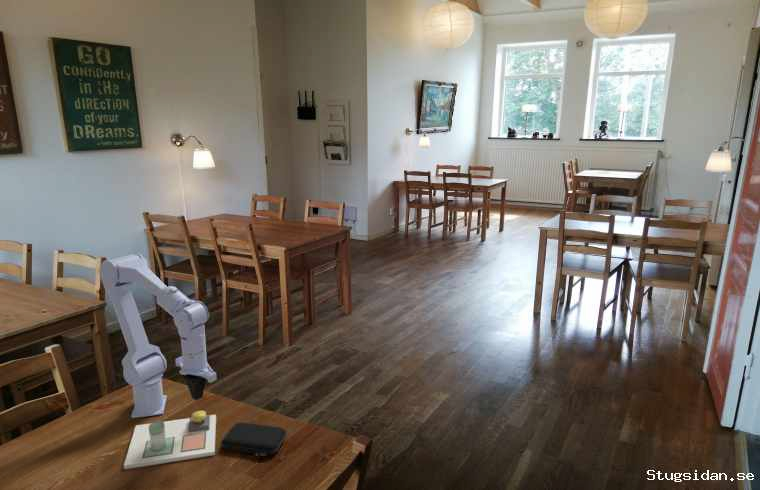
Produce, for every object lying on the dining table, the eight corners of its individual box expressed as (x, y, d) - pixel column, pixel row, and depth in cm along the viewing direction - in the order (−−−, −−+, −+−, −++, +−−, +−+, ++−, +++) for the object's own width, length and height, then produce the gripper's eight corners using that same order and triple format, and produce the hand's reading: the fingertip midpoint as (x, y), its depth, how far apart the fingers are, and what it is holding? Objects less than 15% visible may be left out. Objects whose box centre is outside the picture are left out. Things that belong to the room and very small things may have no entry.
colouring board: (136, 428, 130) (135, 421, 129) (216, 417, 135) (215, 410, 135) (124, 469, 115) (123, 461, 114) (214, 455, 120) (214, 447, 120)
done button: (192, 418, 131) (192, 411, 130) (206, 416, 132) (206, 409, 132) (191, 426, 128) (191, 419, 127) (206, 424, 129) (205, 417, 128)
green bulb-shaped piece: (152, 443, 122) (150, 422, 121) (167, 441, 123) (165, 420, 122) (149, 452, 119) (147, 430, 118) (165, 450, 120) (163, 428, 118)
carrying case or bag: (216, 454, 121) (273, 462, 119) (215, 443, 120) (272, 451, 118) (235, 428, 131) (288, 435, 129) (235, 418, 130) (288, 425, 128)
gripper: (163, 347, 126) (167, 395, 129) (197, 364, 118) (201, 414, 121) (187, 338, 131) (191, 384, 135) (222, 353, 123) (225, 402, 126)
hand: (197, 397), depth 128 cm, fingers closed
